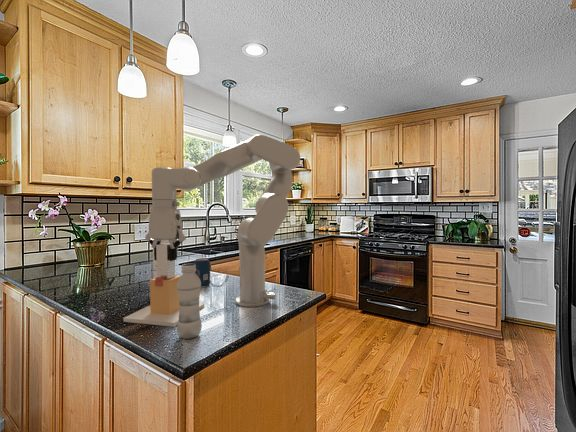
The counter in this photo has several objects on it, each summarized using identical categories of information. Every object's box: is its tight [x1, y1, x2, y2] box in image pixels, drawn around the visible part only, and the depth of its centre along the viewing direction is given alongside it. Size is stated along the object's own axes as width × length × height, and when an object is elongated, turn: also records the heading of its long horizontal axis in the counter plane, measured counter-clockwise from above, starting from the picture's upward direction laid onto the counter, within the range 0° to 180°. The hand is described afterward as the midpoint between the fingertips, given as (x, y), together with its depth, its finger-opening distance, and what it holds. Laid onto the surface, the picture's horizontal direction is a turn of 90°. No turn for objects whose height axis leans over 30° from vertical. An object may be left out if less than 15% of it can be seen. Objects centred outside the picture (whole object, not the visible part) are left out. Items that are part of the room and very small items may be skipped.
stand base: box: [122, 275, 205, 328], centre depth 100 cm, size 18×18×13 cm
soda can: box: [193, 257, 211, 288], centre depth 136 cm, size 7×7×12 cm
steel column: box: [156, 243, 176, 280], centre depth 100 cm, size 4×4×22 cm
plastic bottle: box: [176, 263, 203, 340], centre depth 83 cm, size 6×7×20 cm
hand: (165, 259), depth 100 cm, fingers open, 4 cm apart
